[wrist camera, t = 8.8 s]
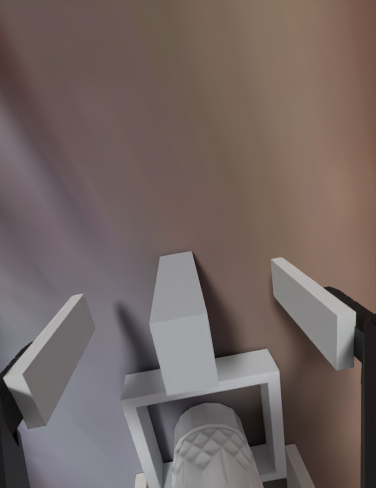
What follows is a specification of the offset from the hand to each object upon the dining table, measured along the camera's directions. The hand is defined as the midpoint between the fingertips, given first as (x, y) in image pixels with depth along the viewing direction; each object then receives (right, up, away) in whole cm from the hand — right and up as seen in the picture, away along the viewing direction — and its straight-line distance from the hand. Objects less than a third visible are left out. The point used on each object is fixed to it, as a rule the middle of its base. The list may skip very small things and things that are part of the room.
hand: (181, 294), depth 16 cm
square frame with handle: (+1, -8, +6) cm, 10 cm away
